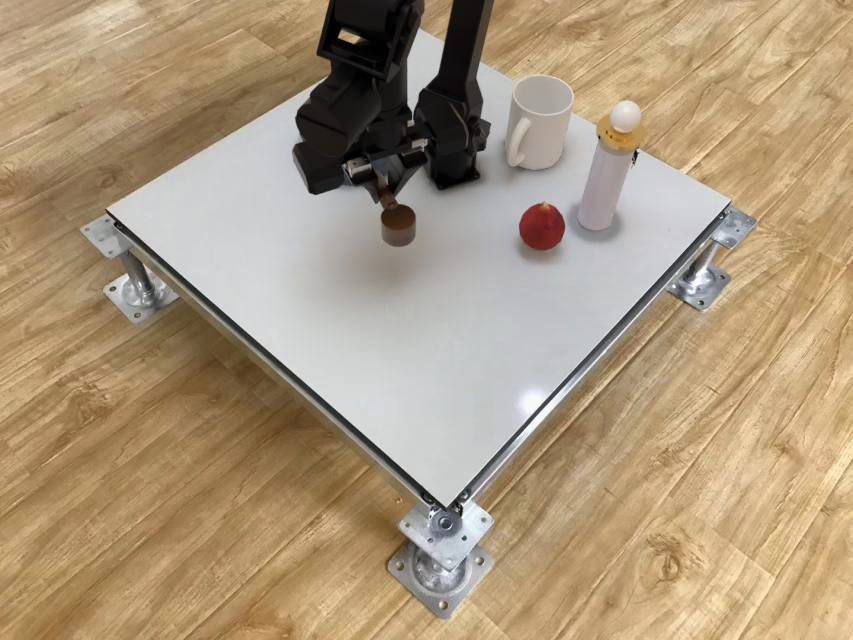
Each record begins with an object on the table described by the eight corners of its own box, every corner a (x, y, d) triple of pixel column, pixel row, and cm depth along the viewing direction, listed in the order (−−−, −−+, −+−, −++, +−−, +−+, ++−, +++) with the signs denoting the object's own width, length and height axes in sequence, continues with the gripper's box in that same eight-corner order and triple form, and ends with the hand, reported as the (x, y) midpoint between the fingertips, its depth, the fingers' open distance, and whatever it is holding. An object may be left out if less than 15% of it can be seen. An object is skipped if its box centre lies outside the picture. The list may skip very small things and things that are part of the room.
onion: (564, 236, 102) (575, 194, 96) (554, 268, 99) (564, 227, 92) (522, 224, 103) (530, 182, 96) (510, 255, 100) (518, 214, 93)
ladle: (421, 240, 89) (421, 221, 86) (389, 251, 88) (388, 232, 85) (388, 183, 94) (387, 163, 91) (358, 192, 93) (356, 172, 90)
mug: (529, 196, 106) (540, 139, 98) (479, 170, 109) (485, 113, 100) (571, 147, 112) (585, 90, 103) (522, 124, 114) (532, 66, 106)
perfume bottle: (595, 244, 101) (632, 128, 85) (563, 219, 104) (593, 101, 87) (623, 223, 104) (665, 106, 87) (591, 199, 106) (626, 80, 89)
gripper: (430, 25, 84) (427, 132, 97) (266, 68, 79) (286, 175, 92) (475, 87, 78) (466, 193, 91) (301, 138, 74) (317, 241, 87)
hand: (383, 198), depth 91 cm, fingers closed on ladle, 2 cm apart
